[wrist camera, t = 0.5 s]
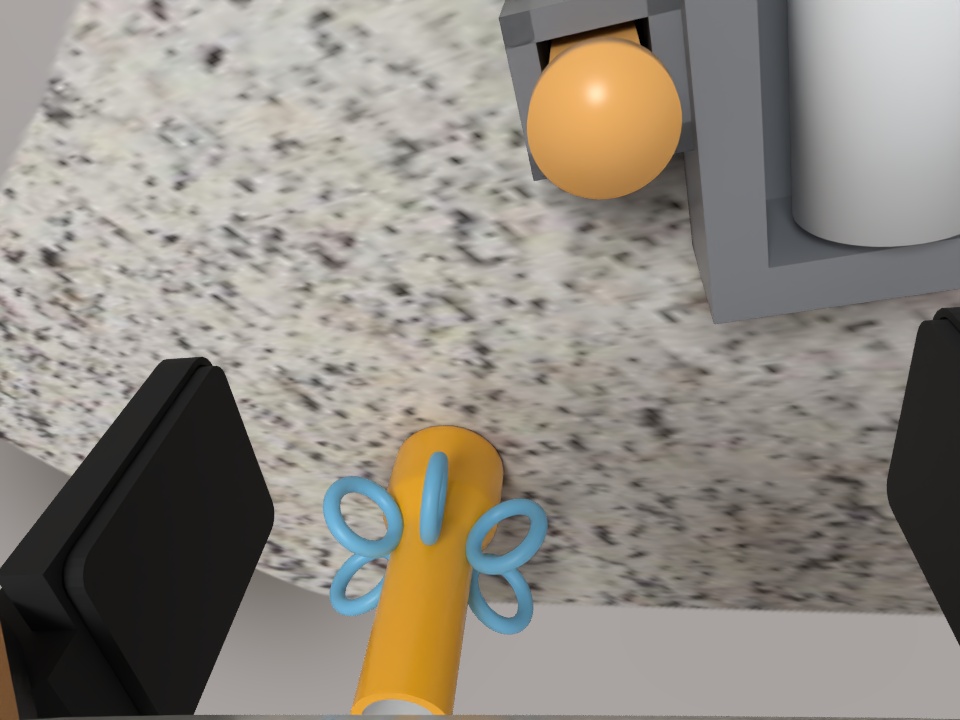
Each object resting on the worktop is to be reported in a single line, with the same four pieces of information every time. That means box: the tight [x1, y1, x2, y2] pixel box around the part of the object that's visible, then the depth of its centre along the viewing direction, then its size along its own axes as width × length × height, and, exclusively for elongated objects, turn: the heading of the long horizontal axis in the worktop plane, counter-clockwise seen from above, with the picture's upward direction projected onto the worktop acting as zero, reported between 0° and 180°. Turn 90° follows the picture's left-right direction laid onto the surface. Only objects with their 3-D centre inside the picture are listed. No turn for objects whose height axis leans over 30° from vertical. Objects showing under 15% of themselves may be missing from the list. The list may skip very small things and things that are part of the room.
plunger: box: [527, 20, 682, 199], centre depth 25 cm, size 4×4×7 cm
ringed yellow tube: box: [323, 426, 548, 715], centre depth 37 cm, size 12×10×15 cm
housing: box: [499, 0, 960, 324], centre depth 26 cm, size 19×18×6 cm
